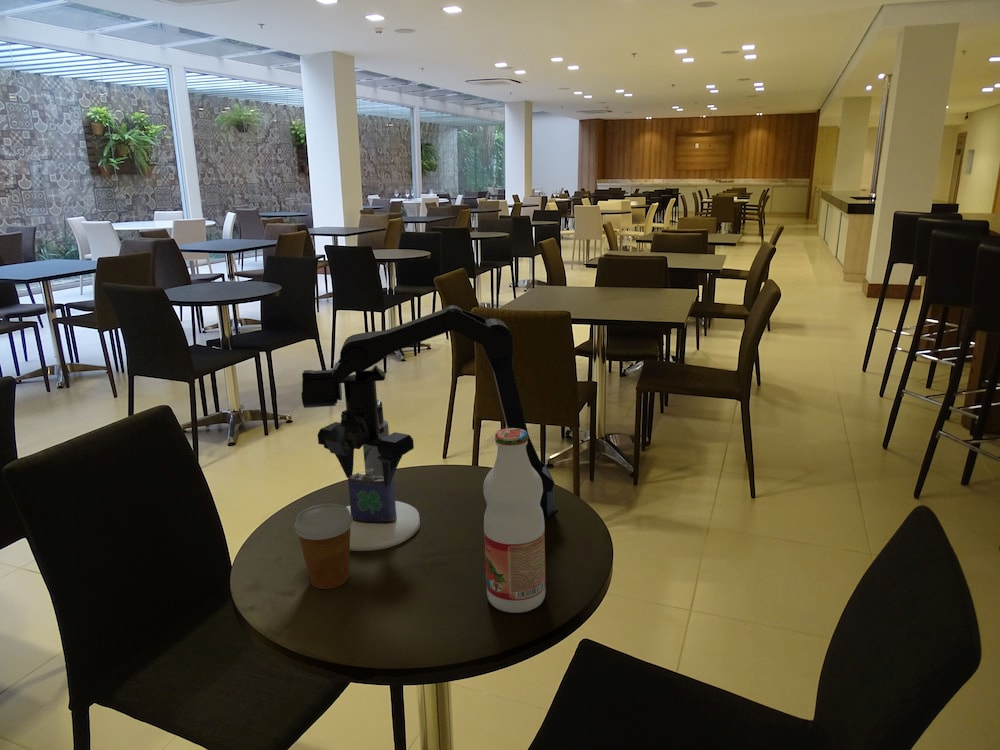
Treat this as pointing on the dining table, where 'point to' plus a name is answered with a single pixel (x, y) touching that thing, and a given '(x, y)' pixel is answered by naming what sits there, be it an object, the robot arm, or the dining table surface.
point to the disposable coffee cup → (325, 543)
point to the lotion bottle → (375, 448)
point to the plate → (385, 530)
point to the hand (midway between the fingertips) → (368, 481)
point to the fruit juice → (514, 527)
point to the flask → (371, 499)
